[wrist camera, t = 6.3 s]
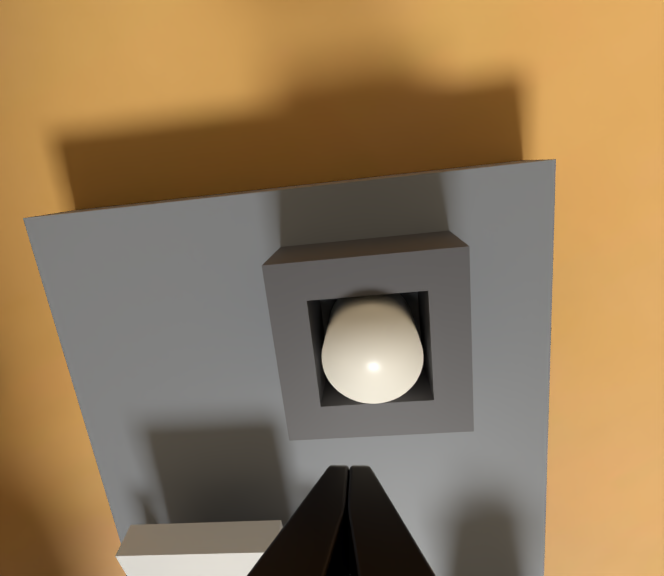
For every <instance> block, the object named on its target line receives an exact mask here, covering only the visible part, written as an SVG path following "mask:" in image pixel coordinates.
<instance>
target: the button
mask: <svg viewBox="0 0 664 576" xmlns="http://www.w3.org/2000/svg"><path fill="white" fill-rule="evenodd" d="M322 365H323V369H324V372H325V375H326V377H327V379H328V380H329V382H330V383H331V384H332V386H333V387H334V388H335V389H336V390H337V391H339V392H340V393H341V394H343V395H344V396H346V397H348V398H350V399H352V400H355V401H358V402H362V403H369V404H377V403H384V402H388V401H391V400H394V399H396V398H398V397H400V396H402V395H403V394H405V393H406V392H407V391H408V390H409V389H410V388H411V387H412V386H413V385H414V384H415V382H416V381H417V379H418V377H419V375H420V373H421V370H422V366H423V349H422V345H421V342H420V339H419V335H418V332H417V329H416V326H415V323H414V320H413V316H412V313H411V310H410V308H409V305H408V304H407V302H406V300H405V299H404V298H403V297H402V296H401V295H400V294H399V293H394V294H382V295H370V296H358V297H346V298H338V299H337V300H336V302H335V303H334V305H333V307H332V310H331V314H330V318H329V322H328V327H327V331H326V335H325V340H324V344H323V348H322Z"/></svg>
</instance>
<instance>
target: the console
mask: <svg viewBox="0 0 664 576" xmlns="http://www.w3.org/2000/svg"><path fill="white" fill-rule="evenodd" d="M555 171H556V159H553V160H522V161H513V162H504V163H495V164H486V165H477V166H468V167H459V168H450V169H441V170H432V171H423V172H414V173H405V174H396V175H387V176H378V177H369V178H360V179H351V180H342V181H333V182H324V183H315V184H306V185H297V186H288V187H279V188H270V189H261V190H252V191H243V192H234V193H225V194H216V195H207V196H198V197H189V198H180V199H171V200H162V201H153V202H144V203H135V204H126V205H117V206H108V207H99V208H90V209H81V210H73V211H66V212H60V213H54V214H47V215H41V216H35V217H28V218H23V220H24V223H25V226H26V230H27V233H28V236H29V240H30V243H31V246H32V250H33V253H34V256H35V260H36V263H37V266H38V270H39V273H40V276H41V279H42V283H43V286H44V289H45V293H46V296H47V299H48V303H49V306H50V309H51V313H52V316H53V319H54V323H55V326H56V329H57V333H58V336H59V339H60V343H61V346H62V349H63V353H64V356H65V359H66V362H67V366H68V369H69V372H70V376H71V379H72V382H73V386H74V389H75V392H76V396H77V399H78V402H79V406H80V409H81V412H82V416H83V419H84V422H85V426H86V429H87V432H88V435H89V439H90V442H91V445H92V449H93V452H94V455H95V459H96V462H97V465H98V469H99V472H100V475H101V479H102V482H103V485H104V489H105V492H106V495H107V499H108V502H109V505H110V509H111V512H112V515H113V518H114V522H115V525H116V528H117V532H118V535H119V538H120V542H121V544H122V542H123V539H124V537H125V535H126V533H127V531H128V529H129V527H130V525H143V524H175V523H206V522H237V521H269V520H281V522H282V526H283V527H284V525H285V524H286V523H287V521H288V520H289V519H290V517H291V516H292V515H293V513H294V512H295V511H296V509H297V508H298V507H299V505H300V504H301V503H302V501H303V500H304V499H305V497H306V496H307V495H308V493H309V492H310V491H311V489H312V488H313V487H314V485H315V484H316V483H317V481H318V480H319V479H320V477H321V476H322V475H323V473H324V472H325V471H326V469H327V468H328V467H329V466H330V465H347V466H348V467H349V470H350V467H351V466H353V465H367V466H370V467H371V469H372V470H373V472H374V473H375V475H376V477H377V478H378V480H379V482H380V483H381V485H382V487H383V488H384V490H385V492H386V493H387V495H388V497H389V498H390V500H391V502H392V503H393V505H394V507H395V508H396V510H397V512H398V513H399V515H400V517H401V518H402V520H403V522H404V523H405V525H406V527H407V528H408V530H409V532H410V533H411V535H412V537H413V538H414V540H415V542H416V543H417V545H418V547H419V548H420V550H421V552H422V553H423V555H424V557H425V558H426V560H427V562H428V563H429V565H430V567H431V568H432V570H433V572H434V573H435V575H436V576H544V554H545V519H546V484H547V449H548V414H549V380H550V345H551V310H552V275H553V240H554V206H555ZM394 293H399V294H400V295H401V296H402V297H403V298H404V299H405V300H406V302H407V304H408V305H409V308H410V310H411V313H412V316H413V320H414V323H415V326H416V329H417V332H418V335H419V339H420V342H421V345H422V349H423V366H422V370H421V373H420V375H419V377H418V379H417V381H416V382H415V384H414V385H413V386H412V387H411V388H410V389H409V390H408V391H407V392H406V393H405V394H403V395H402V396H400V397H398V398H396V399H394V400H391V401H388V402H384V403H377V404H369V403H362V402H358V401H355V400H352V399H350V398H348V397H346V396H344V395H343V394H341V393H340V392H339V391H337V390H336V389H335V388H334V387H333V386H332V384H331V383H330V382H329V380H328V379H327V377H326V375H325V372H324V369H323V365H322V348H323V344H324V340H325V335H326V331H327V327H328V322H329V318H330V314H331V310H332V307H333V305H334V303H335V302H336V300H337V299H338V298H346V297H358V296H370V295H382V294H394ZM126 576H127V575H126Z"/></svg>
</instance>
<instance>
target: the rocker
mask: <svg viewBox="0 0 664 576" xmlns="http://www.w3.org/2000/svg"><path fill="white" fill-rule="evenodd" d="M282 528H283V526H282V522H281V520H269V521H237V522H206V523H175V524H143V525H130V527H129V529H128V531H127V533H126V535H125V537H124V539H123V542H122V544H121V546H120V548H119V550H118V552H117V554H116V558H117V560H118V561H119V563H120V565H121V566H122V568H123V570H124V572H125V573H126V575H127V576H247V575H248V573H249V572H250V571H251V569H252V568H253V567H254V565H255V564H256V563H257V561H258V560H259V559H260V557H261V556H262V555H263V553H264V552H265V551H266V549H267V548H268V547H269V545H270V544H271V543H272V541H273V540H274V539H275V537H276V536H277V535H278V533H279V532H280V531H281V529H282Z"/></svg>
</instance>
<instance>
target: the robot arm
mask: <svg viewBox="0 0 664 576" xmlns="http://www.w3.org/2000/svg"><path fill="white" fill-rule="evenodd" d="M247 576H436V575H435V573H434V572H433V570H432V568H431V567H430V565H429V563H428V562H427V560H426V558H425V557H424V555H423V553H422V552H421V550H420V548H419V547H418V545H417V543H416V542H415V540H414V538H413V537H412V535H411V533H410V532H409V530H408V528H407V527H406V525H405V523H404V522H403V520H402V518H401V517H400V515H399V513H398V512H397V510H396V508H395V507H394V505H393V503H392V502H391V500H390V498H389V497H388V495H387V493H386V492H385V490H384V488H383V487H382V485H381V483H380V482H379V480H378V478H377V477H376V475H375V473H374V472H373V470H372V469H371V467H370V466H367V465H353V466H351V467H350V470H349V467H348V466H347V465H330V466H329V467H328V468H327V469H326V471H325V472H324V473H323V475H322V476H321V477H320V479H319V480H318V481H317V483H316V484H315V485H314V487H313V488H312V489H311V491H310V492H309V493H308V495H307V496H306V497H305V499H304V500H303V501H302V503H301V504H300V505H299V507H298V508H297V509H296V511H295V512H294V513H293V515H292V516H291V517H290V519H289V520H288V521H287V523H286V524H285V525H284V527H283V528H282V529H281V531H280V532H279V533H278V535H277V536H276V537H275V539H274V540H273V541H272V543H271V544H270V545H269V547H268V548H267V549H266V551H265V552H264V553H263V555H262V556H261V557H260V559H259V560H258V561H257V563H256V564H255V565H254V567H253V568H252V569H251V571H250V572H249V573H248V575H247Z"/></svg>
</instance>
